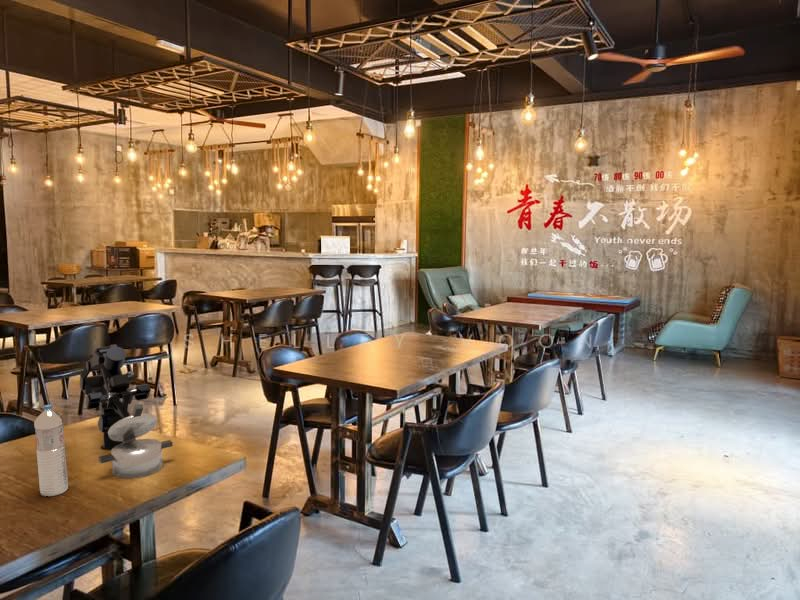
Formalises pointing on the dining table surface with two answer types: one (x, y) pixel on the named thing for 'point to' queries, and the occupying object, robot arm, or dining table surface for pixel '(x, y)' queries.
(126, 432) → the cooker lid
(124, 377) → the robot arm
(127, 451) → the cooker pot
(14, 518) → the dining table surface
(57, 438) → the water bottle
